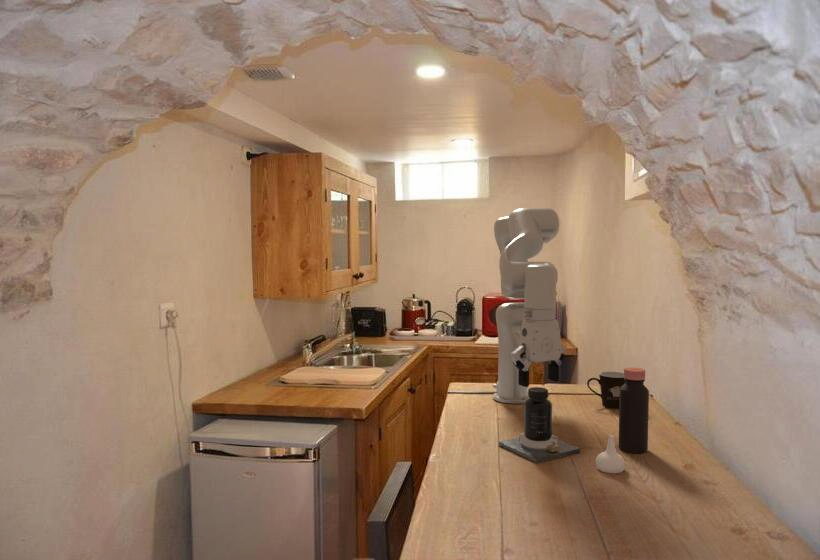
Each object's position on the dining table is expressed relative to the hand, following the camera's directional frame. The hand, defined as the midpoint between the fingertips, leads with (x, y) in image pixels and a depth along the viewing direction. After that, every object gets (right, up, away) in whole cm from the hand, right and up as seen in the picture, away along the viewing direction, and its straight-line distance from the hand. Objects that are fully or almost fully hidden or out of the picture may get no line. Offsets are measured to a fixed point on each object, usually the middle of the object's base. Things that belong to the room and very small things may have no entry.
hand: (538, 383), depth 148 cm
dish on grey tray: (0, -16, 0) cm, 16 cm away
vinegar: (+23, -17, 0) cm, 29 cm away
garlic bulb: (+13, -18, -13) cm, 25 cm away
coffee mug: (+30, -14, +40) cm, 52 cm away
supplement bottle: (0, -14, 0) cm, 14 cm away
